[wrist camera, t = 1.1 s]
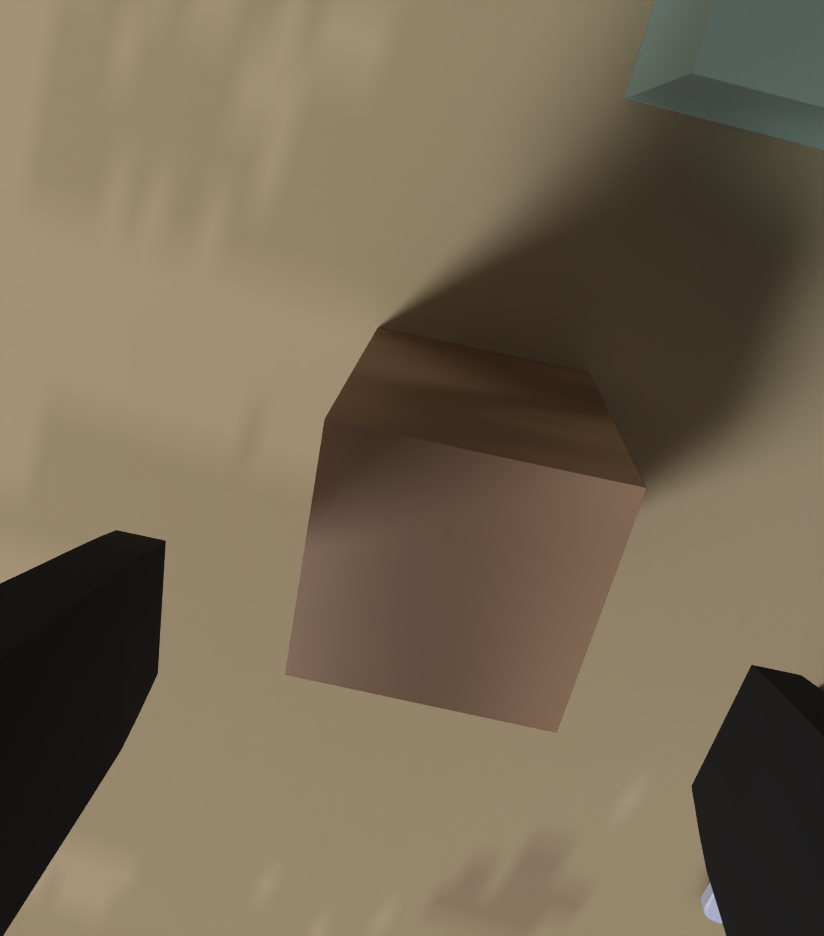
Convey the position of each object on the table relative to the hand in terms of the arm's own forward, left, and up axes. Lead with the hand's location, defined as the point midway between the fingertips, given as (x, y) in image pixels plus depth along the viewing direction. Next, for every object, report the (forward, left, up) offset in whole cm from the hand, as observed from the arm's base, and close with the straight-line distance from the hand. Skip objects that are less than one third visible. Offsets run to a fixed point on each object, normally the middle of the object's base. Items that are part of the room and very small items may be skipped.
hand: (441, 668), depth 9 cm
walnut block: (0, 0, -7) cm, 7 cm away
